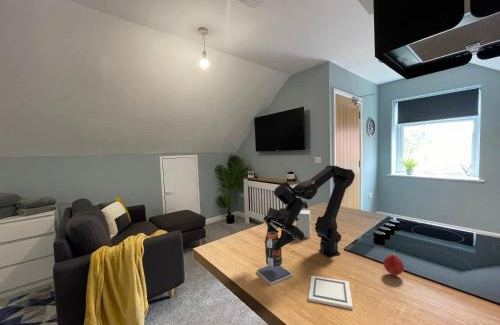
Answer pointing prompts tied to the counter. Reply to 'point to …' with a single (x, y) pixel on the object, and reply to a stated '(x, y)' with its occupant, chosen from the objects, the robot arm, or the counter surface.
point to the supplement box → (304, 222)
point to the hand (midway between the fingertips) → (270, 246)
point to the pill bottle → (272, 250)
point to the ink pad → (274, 274)
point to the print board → (330, 292)
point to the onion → (393, 265)
